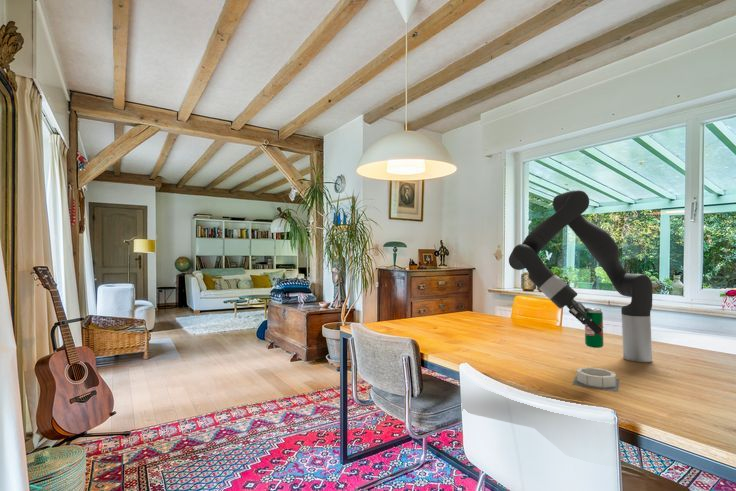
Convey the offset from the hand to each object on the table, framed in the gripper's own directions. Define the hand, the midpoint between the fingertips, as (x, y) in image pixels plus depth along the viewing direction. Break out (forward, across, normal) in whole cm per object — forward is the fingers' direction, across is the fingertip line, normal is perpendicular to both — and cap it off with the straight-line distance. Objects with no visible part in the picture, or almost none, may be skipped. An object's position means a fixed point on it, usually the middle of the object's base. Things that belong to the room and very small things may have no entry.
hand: (600, 330), depth 120 cm
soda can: (+2, 0, +5) cm, 6 cm away
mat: (+11, 0, +13) cm, 17 cm away
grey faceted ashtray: (+10, 0, +13) cm, 16 cm away
